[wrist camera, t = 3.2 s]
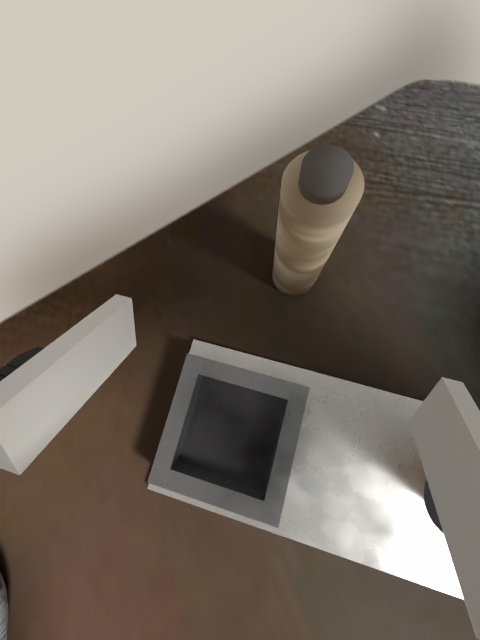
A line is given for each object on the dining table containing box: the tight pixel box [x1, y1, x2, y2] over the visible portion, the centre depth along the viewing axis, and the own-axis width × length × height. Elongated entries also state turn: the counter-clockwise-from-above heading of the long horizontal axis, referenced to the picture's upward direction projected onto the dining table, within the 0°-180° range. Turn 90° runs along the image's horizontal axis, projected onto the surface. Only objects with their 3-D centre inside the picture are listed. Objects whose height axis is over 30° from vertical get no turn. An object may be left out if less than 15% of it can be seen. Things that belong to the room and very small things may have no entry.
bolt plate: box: [147, 339, 464, 600], centre depth 18 cm, size 32×14×14 cm, turn 75°
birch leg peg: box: [272, 145, 364, 296], centre depth 21 cm, size 4×4×15 cm
